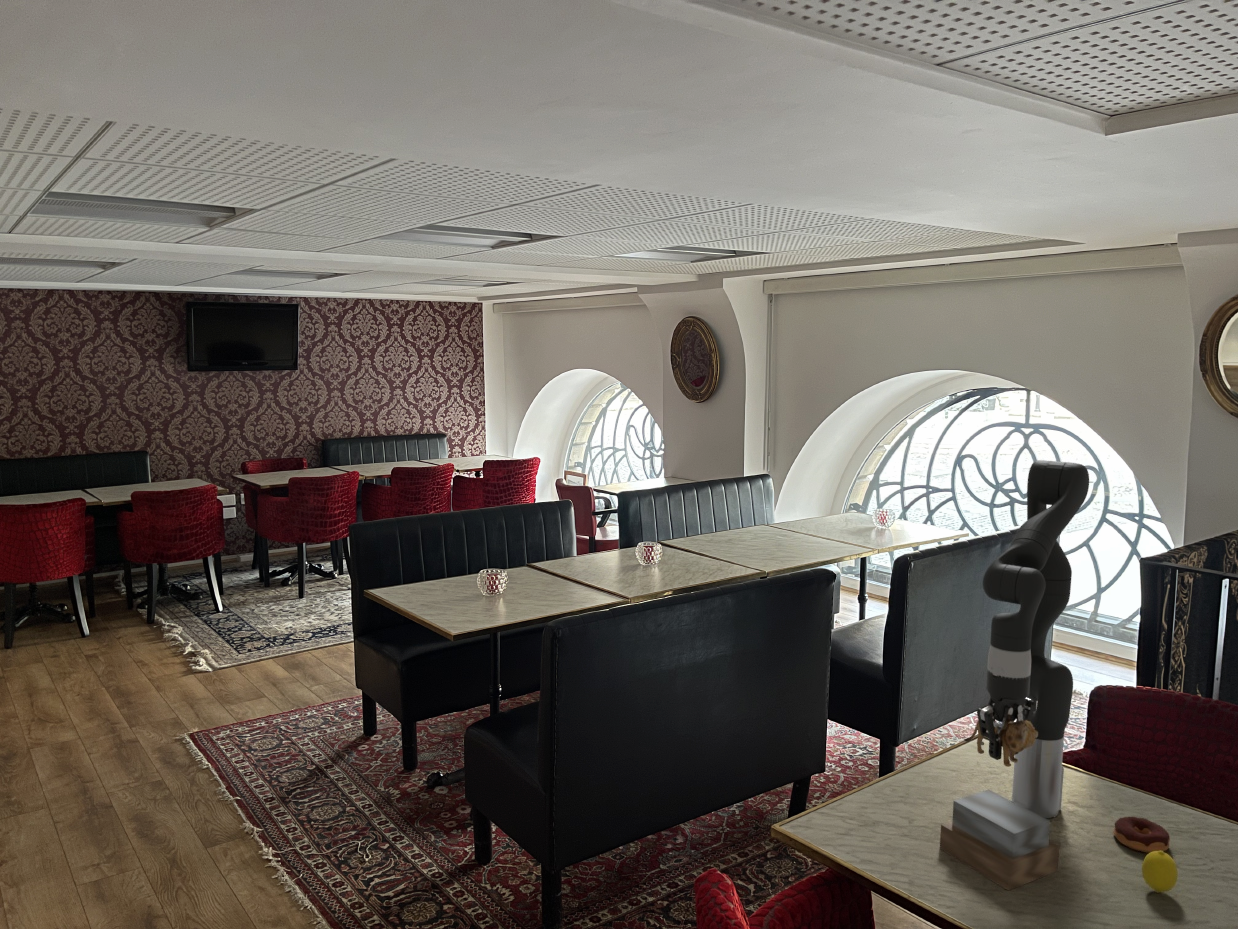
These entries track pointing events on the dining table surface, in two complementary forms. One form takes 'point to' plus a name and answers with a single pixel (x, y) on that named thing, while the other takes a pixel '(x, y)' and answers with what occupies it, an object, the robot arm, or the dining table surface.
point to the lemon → (1159, 871)
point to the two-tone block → (1000, 839)
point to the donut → (1141, 834)
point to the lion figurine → (1011, 739)
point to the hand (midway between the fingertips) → (1003, 755)
